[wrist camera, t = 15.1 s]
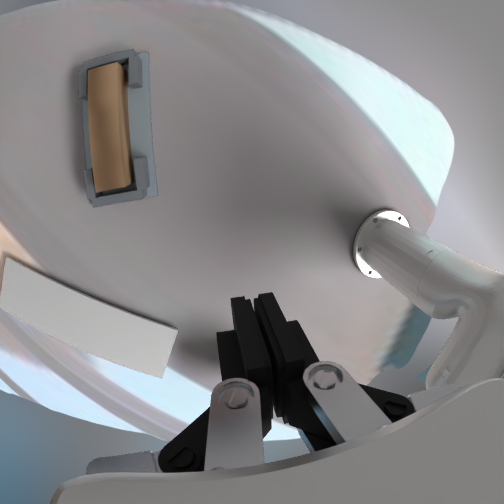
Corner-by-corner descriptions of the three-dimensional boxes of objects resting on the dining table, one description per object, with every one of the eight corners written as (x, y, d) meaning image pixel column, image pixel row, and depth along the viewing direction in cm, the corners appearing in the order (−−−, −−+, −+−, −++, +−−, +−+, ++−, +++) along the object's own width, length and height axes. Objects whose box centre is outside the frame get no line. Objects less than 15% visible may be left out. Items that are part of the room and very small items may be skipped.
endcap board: (148, 53, 28) (143, 44, 25) (158, 194, 36) (153, 199, 32) (84, 69, 27) (74, 63, 23) (94, 205, 35) (84, 211, 31)
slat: (127, 72, 28) (117, 62, 23) (134, 181, 34) (124, 187, 29) (101, 78, 27) (88, 70, 23) (108, 186, 33) (95, 192, 29)
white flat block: (18, 253, 37) (10, 300, 37) (6, 256, 32) (-1, 307, 32) (177, 320, 47) (162, 365, 47) (178, 330, 43) (162, 378, 43)
